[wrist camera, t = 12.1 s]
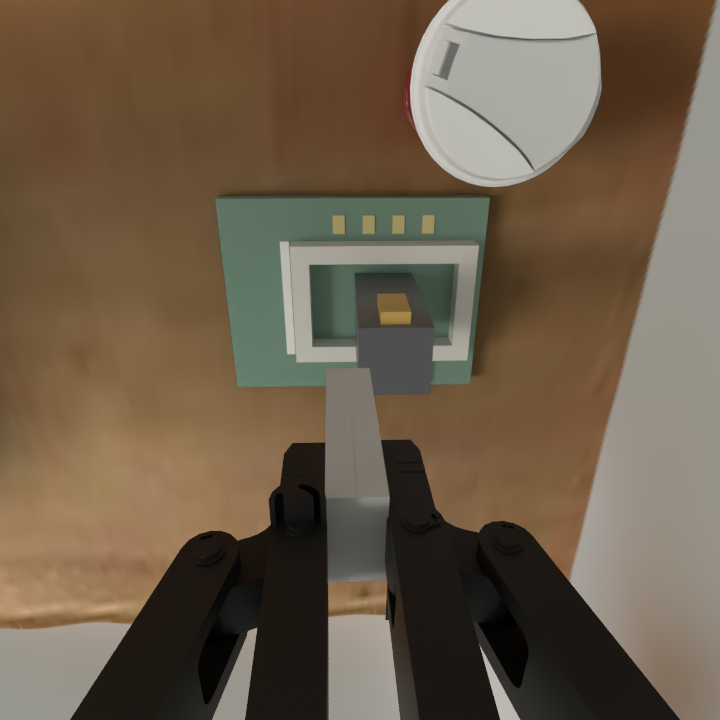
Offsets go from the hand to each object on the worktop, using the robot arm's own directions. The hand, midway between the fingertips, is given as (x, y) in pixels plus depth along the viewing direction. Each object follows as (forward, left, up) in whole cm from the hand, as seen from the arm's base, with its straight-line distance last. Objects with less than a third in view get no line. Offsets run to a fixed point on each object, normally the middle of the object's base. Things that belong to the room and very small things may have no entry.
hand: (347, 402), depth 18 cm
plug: (+3, -3, -19) cm, 20 cm away
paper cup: (+7, +10, -21) cm, 24 cm away
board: (+1, -3, -20) cm, 21 cm away
